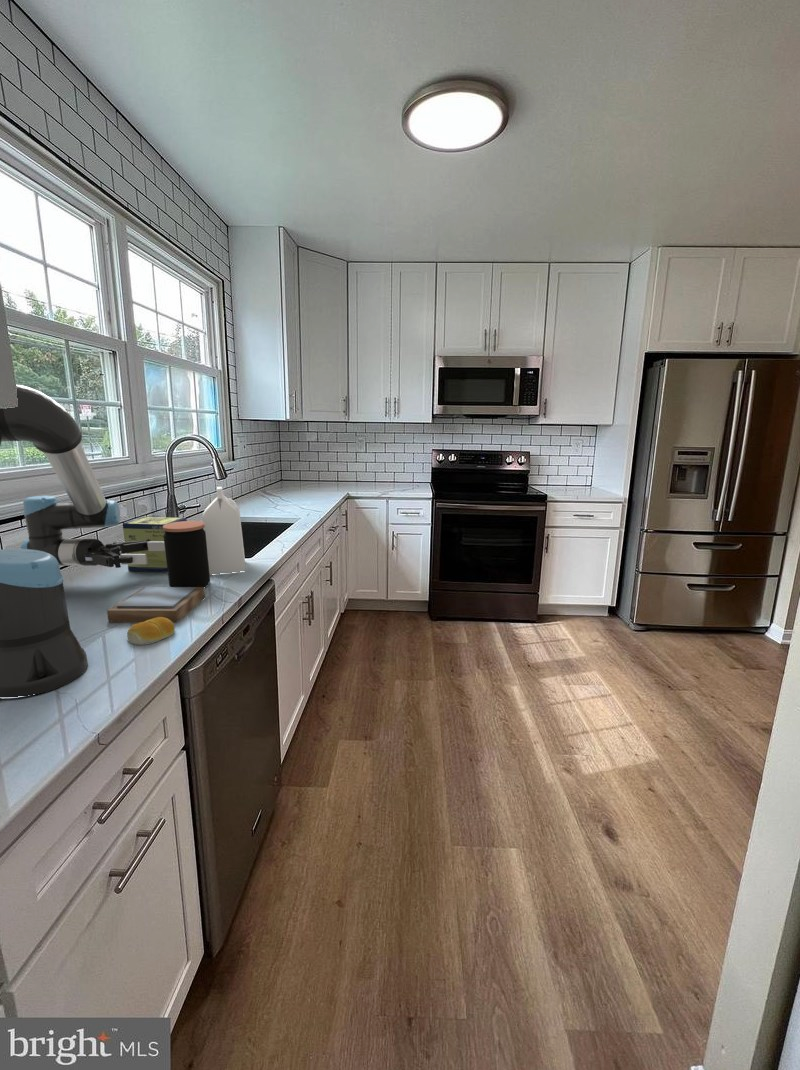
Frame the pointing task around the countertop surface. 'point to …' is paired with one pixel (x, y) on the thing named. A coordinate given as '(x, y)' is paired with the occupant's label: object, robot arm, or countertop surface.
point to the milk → (224, 535)
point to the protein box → (155, 533)
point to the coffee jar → (186, 554)
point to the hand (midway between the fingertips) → (159, 552)
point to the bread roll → (150, 631)
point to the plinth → (157, 604)
